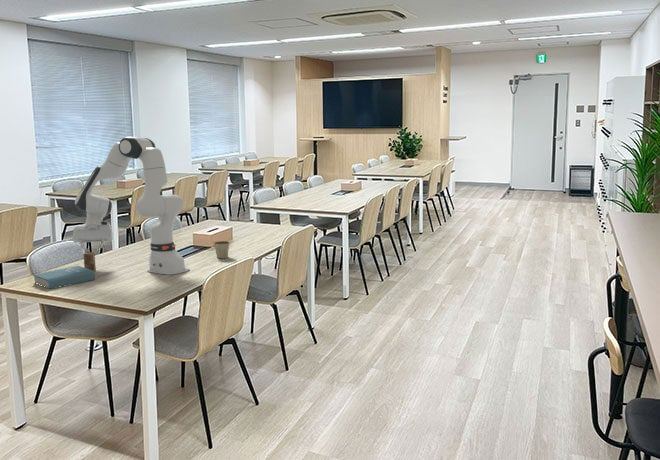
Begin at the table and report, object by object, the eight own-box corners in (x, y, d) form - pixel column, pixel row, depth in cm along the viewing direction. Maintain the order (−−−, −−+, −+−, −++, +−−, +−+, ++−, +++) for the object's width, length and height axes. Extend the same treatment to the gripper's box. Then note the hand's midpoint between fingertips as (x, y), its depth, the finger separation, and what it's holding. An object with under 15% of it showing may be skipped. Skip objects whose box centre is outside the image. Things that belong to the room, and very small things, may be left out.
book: (79, 275, 308) (78, 265, 307) (95, 280, 298) (94, 270, 297) (34, 284, 291) (33, 274, 290) (49, 290, 281) (48, 280, 280)
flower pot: (210, 258, 343) (209, 243, 341) (220, 254, 351) (220, 240, 350) (223, 259, 339) (223, 244, 337) (233, 256, 347) (233, 241, 345)
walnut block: (95, 270, 316) (94, 251, 314) (94, 272, 311) (92, 253, 310) (86, 270, 315) (85, 252, 313) (84, 273, 311) (83, 254, 309)
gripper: (72, 223, 321) (69, 245, 314) (112, 222, 325) (110, 243, 317) (74, 230, 326) (72, 251, 319) (114, 228, 330) (112, 250, 322)
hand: (91, 247), depth 318 cm, fingers open, 8 cm apart
